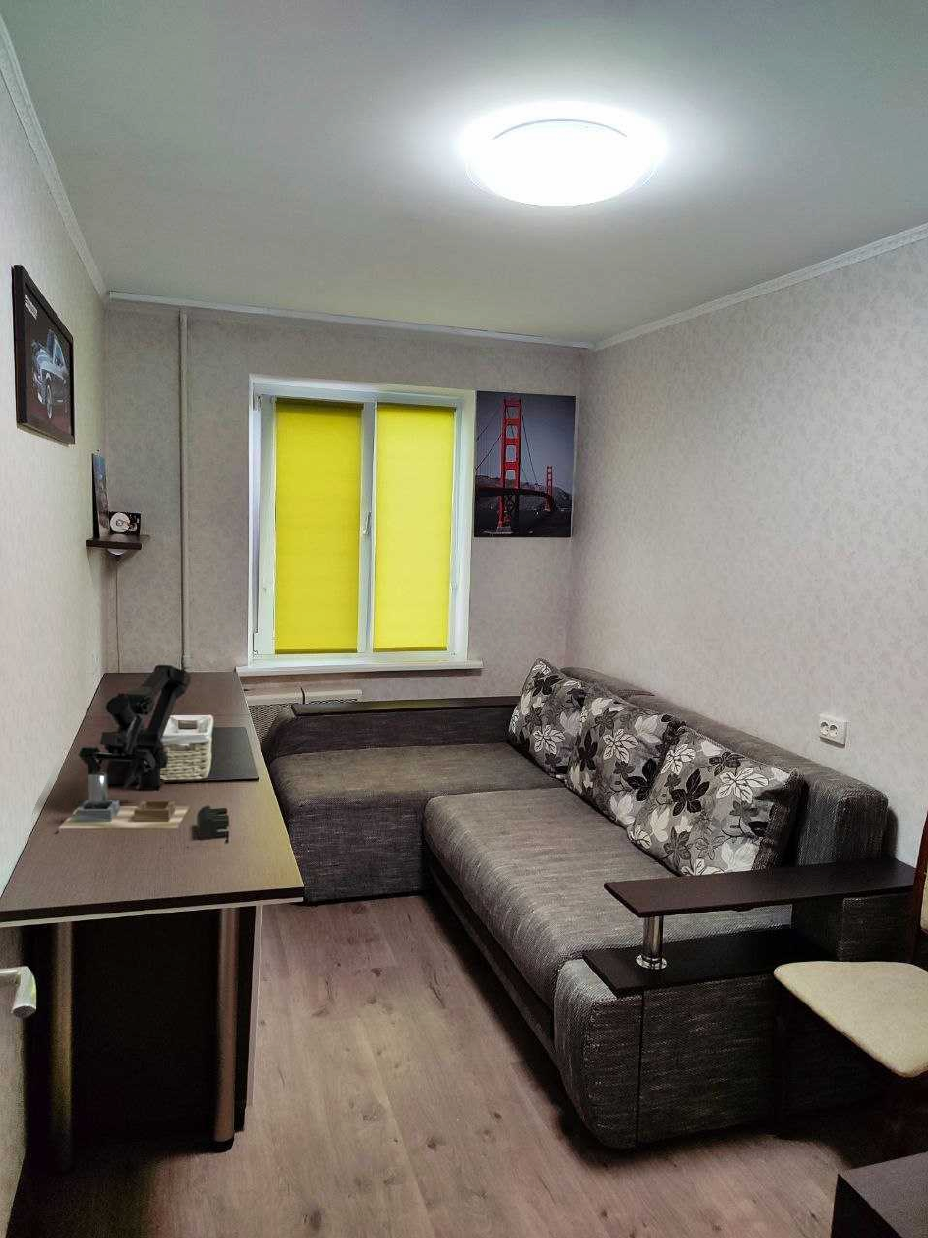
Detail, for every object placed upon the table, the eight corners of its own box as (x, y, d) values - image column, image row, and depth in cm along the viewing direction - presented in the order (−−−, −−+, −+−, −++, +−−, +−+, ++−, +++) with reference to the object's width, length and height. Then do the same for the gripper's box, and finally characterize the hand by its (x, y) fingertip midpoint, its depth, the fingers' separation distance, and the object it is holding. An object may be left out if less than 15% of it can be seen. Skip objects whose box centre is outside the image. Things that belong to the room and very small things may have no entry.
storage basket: (209, 781, 263) (210, 732, 261) (152, 782, 259) (151, 733, 258) (213, 758, 286) (214, 713, 284) (160, 760, 282) (160, 714, 281)
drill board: (79, 812, 233) (79, 795, 232) (189, 811, 236) (189, 795, 235) (58, 834, 217) (58, 816, 216) (177, 833, 220) (177, 816, 220)
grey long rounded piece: (97, 812, 228) (97, 771, 227) (111, 815, 227) (111, 773, 226) (85, 818, 224) (84, 775, 223) (99, 820, 223) (98, 778, 221)
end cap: (196, 832, 222) (196, 806, 221) (226, 830, 224) (226, 804, 223) (198, 847, 212) (198, 819, 212) (228, 844, 215) (229, 817, 214)
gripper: (81, 716, 233) (59, 769, 224) (150, 720, 231) (130, 774, 222) (97, 738, 242) (76, 790, 232) (163, 742, 240) (145, 794, 231)
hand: (106, 787), depth 229 cm, fingers open, 9 cm apart
